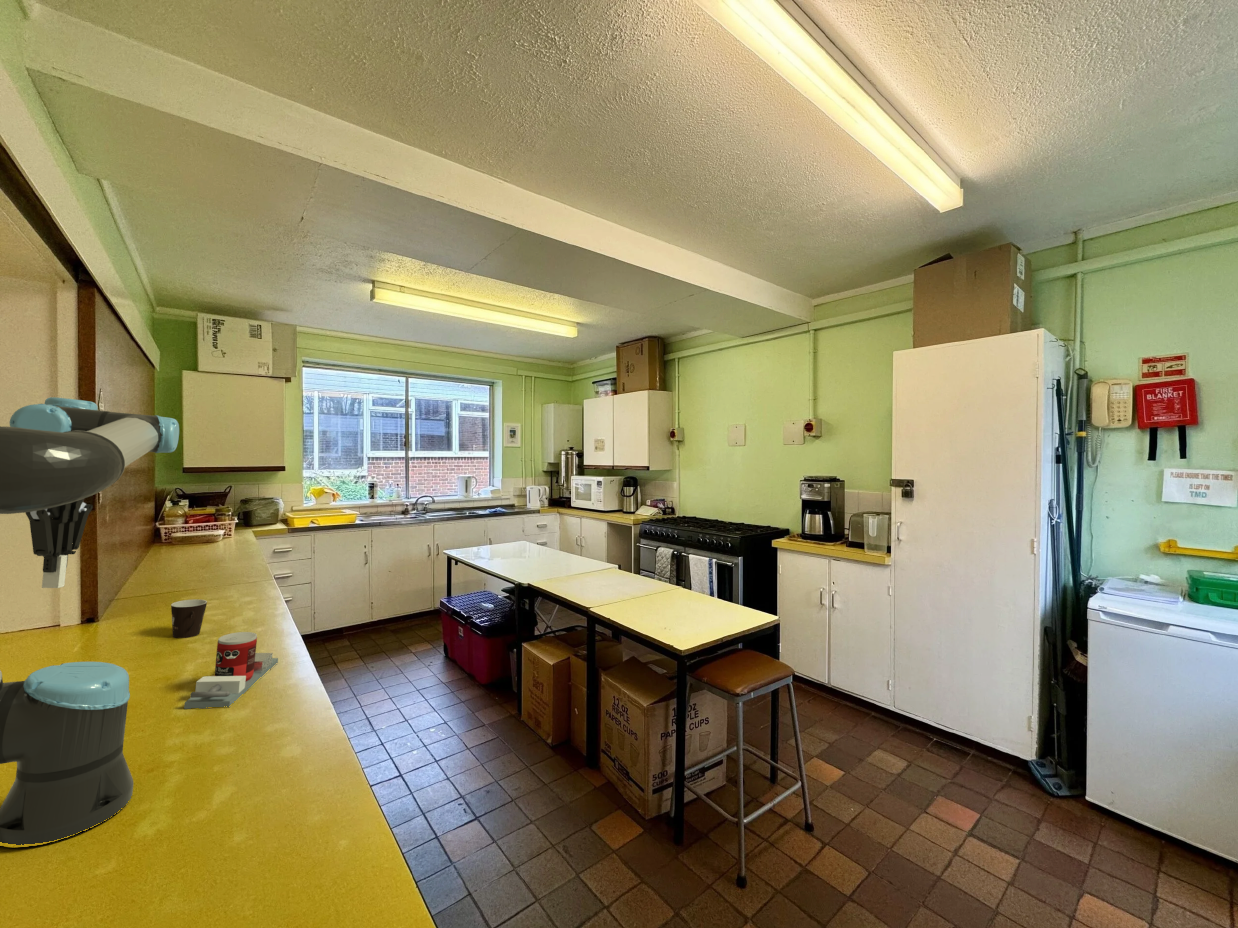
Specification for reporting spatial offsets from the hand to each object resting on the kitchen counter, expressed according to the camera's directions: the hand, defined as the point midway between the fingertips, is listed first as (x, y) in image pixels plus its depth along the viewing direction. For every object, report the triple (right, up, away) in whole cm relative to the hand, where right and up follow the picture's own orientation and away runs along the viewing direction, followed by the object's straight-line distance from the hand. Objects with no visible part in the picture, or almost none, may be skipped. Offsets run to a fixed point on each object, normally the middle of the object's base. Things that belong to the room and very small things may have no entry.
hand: (53, 586), depth 101 cm
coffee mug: (-20, -29, +52) cm, 63 cm away
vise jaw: (+17, -30, +31) cm, 46 cm away
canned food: (+18, -30, +24) cm, 43 cm away
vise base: (+18, -31, +25) cm, 44 cm away
